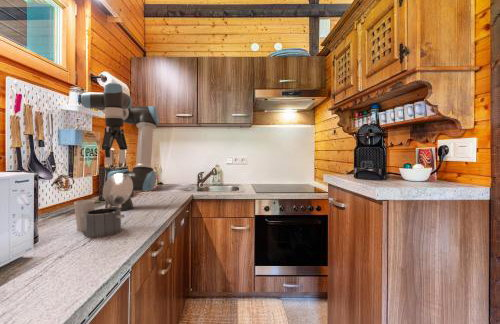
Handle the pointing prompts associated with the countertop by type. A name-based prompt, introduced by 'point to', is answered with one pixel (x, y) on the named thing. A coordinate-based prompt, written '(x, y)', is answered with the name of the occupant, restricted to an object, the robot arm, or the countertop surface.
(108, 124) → the robot arm
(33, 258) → the countertop surface
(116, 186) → the lid
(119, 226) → the pot
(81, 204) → the cup
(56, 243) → the countertop surface
